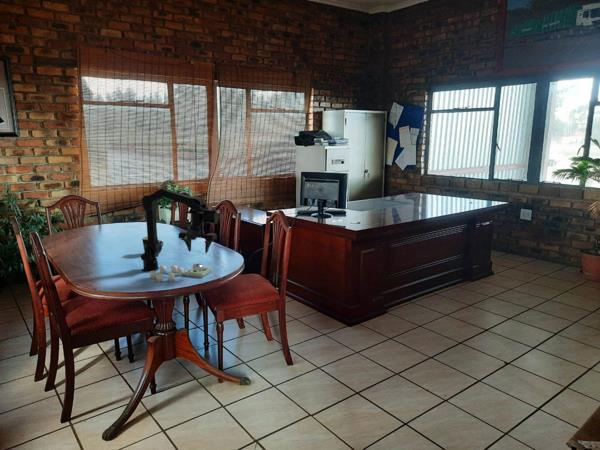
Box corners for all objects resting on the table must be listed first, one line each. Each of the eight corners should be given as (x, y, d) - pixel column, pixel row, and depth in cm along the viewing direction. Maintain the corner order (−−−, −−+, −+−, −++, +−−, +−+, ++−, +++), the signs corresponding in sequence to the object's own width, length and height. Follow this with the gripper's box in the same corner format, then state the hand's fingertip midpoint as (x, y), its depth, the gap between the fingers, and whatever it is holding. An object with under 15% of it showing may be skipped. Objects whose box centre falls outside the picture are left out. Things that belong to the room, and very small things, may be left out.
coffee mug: (139, 254, 259) (139, 238, 257) (151, 251, 266) (151, 235, 264) (152, 258, 253) (152, 241, 251) (164, 254, 260) (164, 238, 258)
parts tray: (184, 275, 224) (184, 271, 224) (194, 270, 234) (194, 266, 233) (202, 277, 222) (202, 273, 221) (211, 272, 231) (211, 268, 231)
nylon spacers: (145, 280, 216) (145, 273, 215) (164, 270, 232) (164, 263, 231) (169, 283, 213) (169, 276, 212) (187, 273, 229) (187, 266, 228)
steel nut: (191, 273, 226) (190, 265, 225) (195, 270, 231) (195, 263, 230) (200, 274, 225) (199, 266, 224) (204, 271, 229) (204, 264, 229)
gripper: (172, 223, 217) (173, 254, 220) (207, 226, 212) (207, 258, 216) (183, 219, 227) (184, 249, 231) (217, 222, 223) (217, 252, 226)
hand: (198, 252), depth 225 cm, fingers open, 9 cm apart
